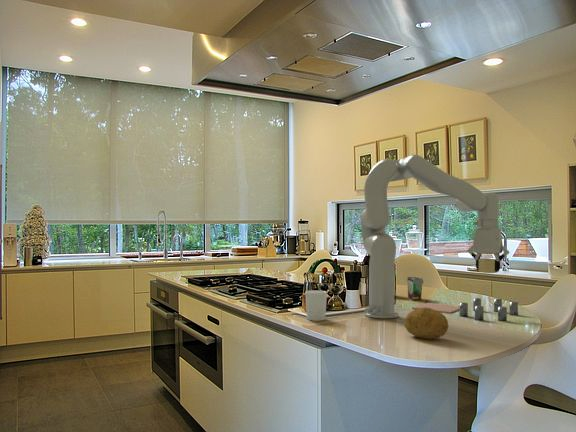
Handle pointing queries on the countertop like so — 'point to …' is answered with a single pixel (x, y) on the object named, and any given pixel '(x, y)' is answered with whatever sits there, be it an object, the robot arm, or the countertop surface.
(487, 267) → the brass nut
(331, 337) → the countertop surface
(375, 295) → the robot arm
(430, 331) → the potato
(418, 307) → the terracotta mat
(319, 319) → the white cup
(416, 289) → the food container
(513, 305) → the standoff field
